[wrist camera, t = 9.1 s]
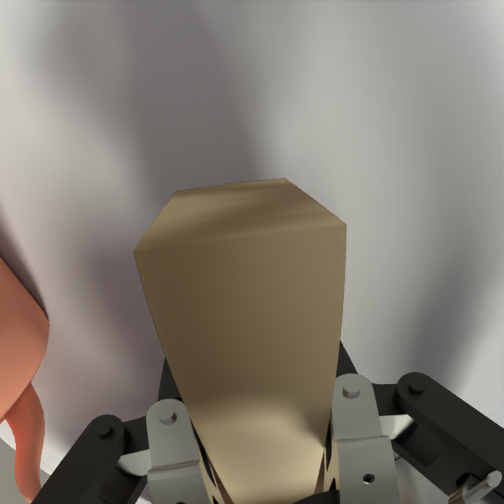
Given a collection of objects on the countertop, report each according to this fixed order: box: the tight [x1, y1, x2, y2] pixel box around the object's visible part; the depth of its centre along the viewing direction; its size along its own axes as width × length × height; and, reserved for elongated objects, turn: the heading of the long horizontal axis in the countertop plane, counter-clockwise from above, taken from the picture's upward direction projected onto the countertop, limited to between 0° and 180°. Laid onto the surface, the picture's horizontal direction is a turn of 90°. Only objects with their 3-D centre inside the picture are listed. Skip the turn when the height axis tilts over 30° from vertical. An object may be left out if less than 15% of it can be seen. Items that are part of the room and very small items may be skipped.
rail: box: [133, 178, 346, 504], centre depth 10 cm, size 4×17×5 cm, turn 6°
